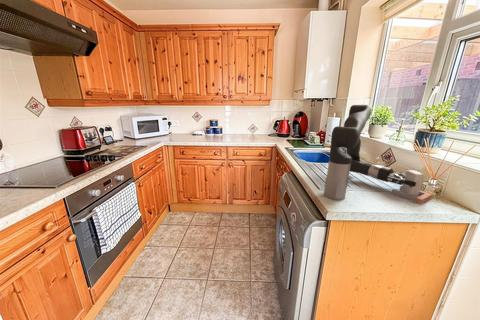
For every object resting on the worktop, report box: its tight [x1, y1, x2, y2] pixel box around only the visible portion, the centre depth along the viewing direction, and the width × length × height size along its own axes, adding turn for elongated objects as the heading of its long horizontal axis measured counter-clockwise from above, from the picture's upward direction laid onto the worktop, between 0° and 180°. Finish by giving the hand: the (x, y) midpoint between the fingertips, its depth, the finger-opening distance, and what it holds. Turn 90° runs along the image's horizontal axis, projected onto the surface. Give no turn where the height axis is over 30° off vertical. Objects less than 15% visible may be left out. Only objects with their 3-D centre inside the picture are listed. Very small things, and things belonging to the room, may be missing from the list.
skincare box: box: [400, 169, 426, 197], centre depth 96 cm, size 6×4×12 cm
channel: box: [390, 185, 433, 205], centre depth 97 cm, size 12×12×2 cm
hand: (418, 183), depth 94 cm, fingers closed on skincare box, 6 cm apart
